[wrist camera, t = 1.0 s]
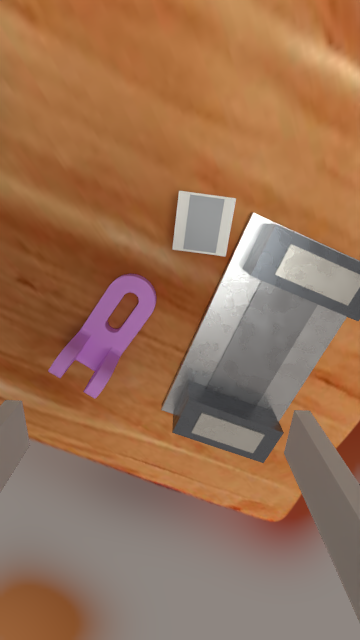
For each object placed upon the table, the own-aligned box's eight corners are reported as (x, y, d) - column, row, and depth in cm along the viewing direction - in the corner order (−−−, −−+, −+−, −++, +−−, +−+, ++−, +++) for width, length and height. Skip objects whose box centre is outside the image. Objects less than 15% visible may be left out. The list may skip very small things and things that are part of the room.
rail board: (161, 405, 38) (158, 432, 33) (251, 212, 29) (264, 211, 25) (261, 439, 40) (272, 470, 35) (372, 267, 31) (407, 276, 26)
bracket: (107, 371, 36) (90, 405, 30) (69, 348, 35) (43, 377, 29) (165, 292, 33) (161, 310, 26) (125, 263, 32) (110, 275, 25)
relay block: (173, 244, 31) (172, 249, 26) (179, 195, 29) (179, 190, 24) (219, 250, 31) (225, 256, 26) (227, 201, 29) (236, 198, 24)
